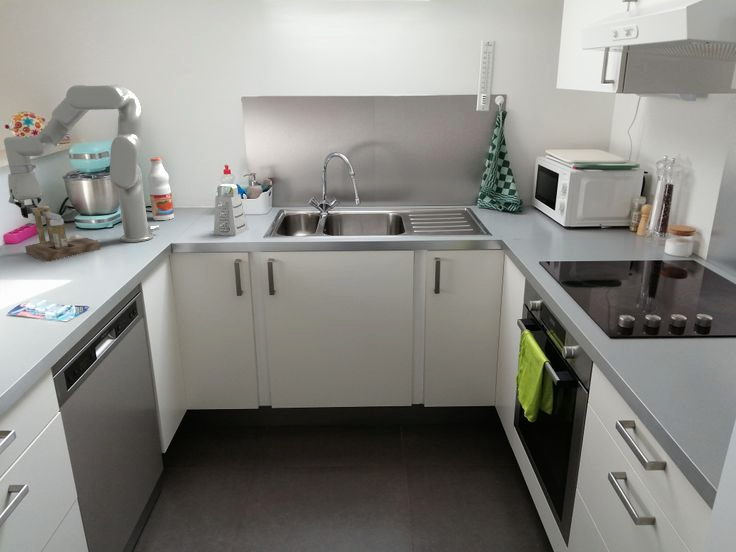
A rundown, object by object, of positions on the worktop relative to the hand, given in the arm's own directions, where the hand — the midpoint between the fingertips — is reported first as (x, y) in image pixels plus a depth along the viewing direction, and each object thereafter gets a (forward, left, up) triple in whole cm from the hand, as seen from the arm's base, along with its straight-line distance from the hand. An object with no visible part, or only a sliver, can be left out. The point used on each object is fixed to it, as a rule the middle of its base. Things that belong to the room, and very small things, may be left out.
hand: (30, 216), depth 231 cm
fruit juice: (-56, +3, -12) cm, 57 cm away
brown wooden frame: (-2, +19, -12) cm, 22 cm away
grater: (-59, +48, -12) cm, 77 cm away
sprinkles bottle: (0, +22, -12) cm, 25 cm away
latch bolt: (0, +12, +1) cm, 12 cm away
